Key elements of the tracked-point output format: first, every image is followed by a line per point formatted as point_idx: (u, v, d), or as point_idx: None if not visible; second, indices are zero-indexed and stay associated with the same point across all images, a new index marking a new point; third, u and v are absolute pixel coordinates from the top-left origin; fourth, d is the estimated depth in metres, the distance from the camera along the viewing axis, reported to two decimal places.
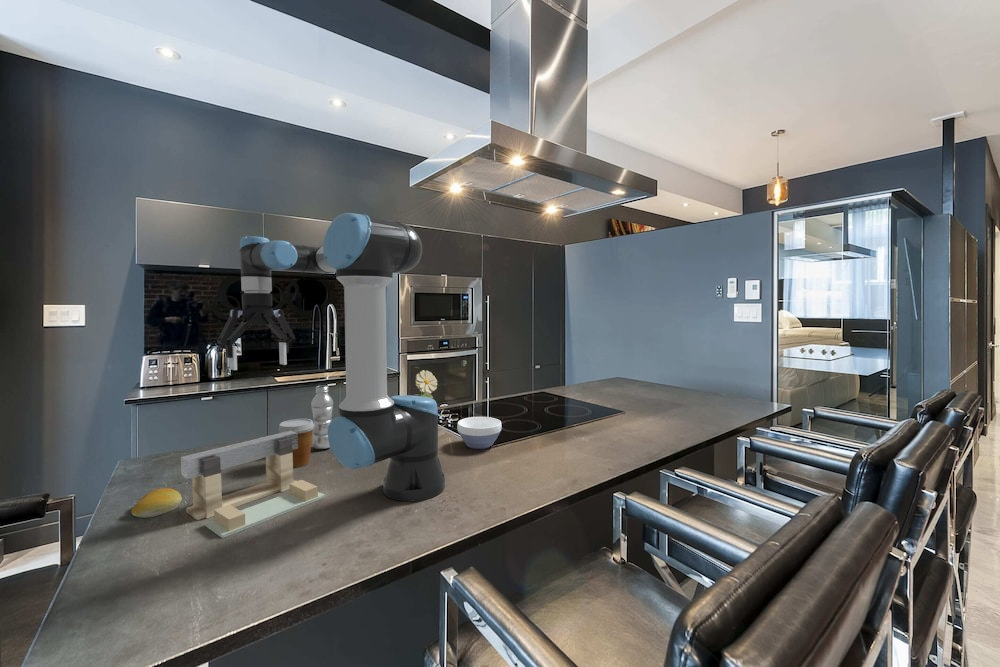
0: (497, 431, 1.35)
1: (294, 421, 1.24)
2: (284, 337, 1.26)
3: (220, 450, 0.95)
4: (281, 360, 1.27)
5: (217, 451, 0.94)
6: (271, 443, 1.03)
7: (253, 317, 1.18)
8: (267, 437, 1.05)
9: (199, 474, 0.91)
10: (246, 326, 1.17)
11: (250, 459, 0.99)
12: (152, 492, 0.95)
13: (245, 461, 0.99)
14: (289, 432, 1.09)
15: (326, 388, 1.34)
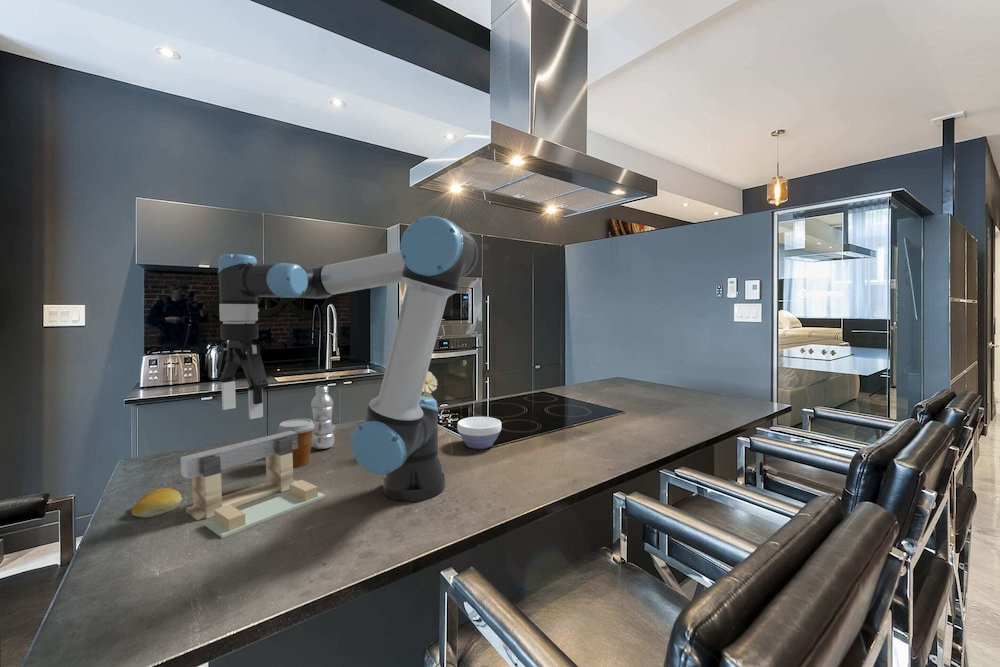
0: (497, 431, 1.35)
1: (294, 421, 1.24)
2: (249, 382, 0.94)
3: (220, 450, 0.95)
4: None
5: (217, 451, 0.94)
6: (271, 443, 1.03)
7: (227, 352, 0.98)
8: (267, 437, 1.05)
9: (199, 474, 0.91)
10: None
11: (250, 459, 0.99)
12: (152, 492, 0.96)
13: (245, 461, 0.99)
14: (289, 432, 1.09)
15: (326, 388, 1.34)
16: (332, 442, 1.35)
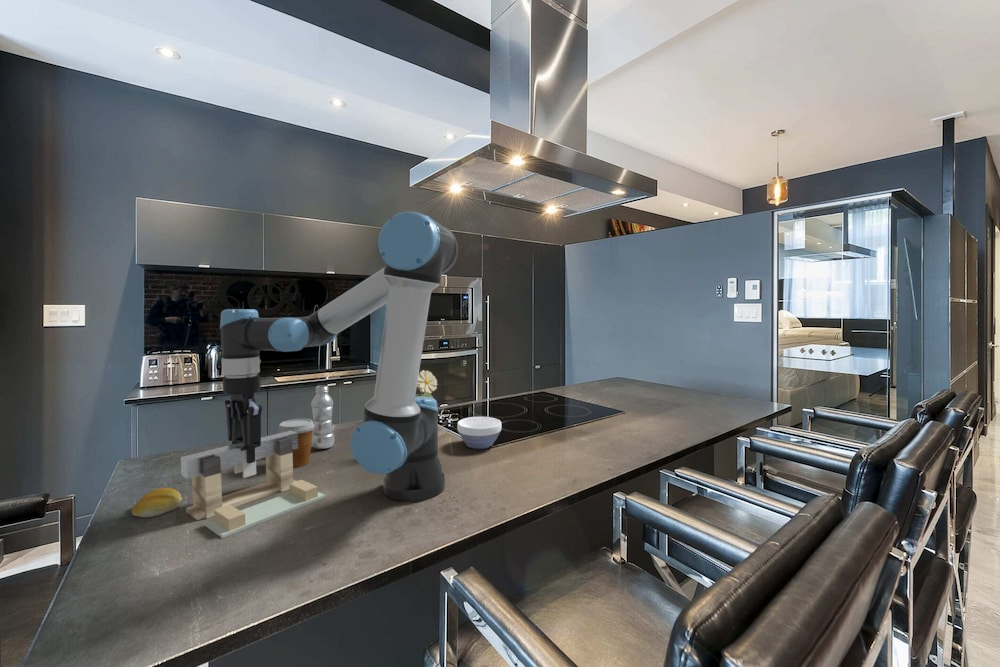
0: (497, 431, 1.35)
1: (294, 421, 1.24)
2: (244, 442, 0.97)
3: (220, 450, 0.95)
4: None
5: (217, 451, 0.94)
6: (271, 443, 1.03)
7: (231, 406, 0.99)
8: (267, 437, 1.05)
9: (199, 474, 0.91)
10: (233, 418, 0.99)
11: None
12: (152, 492, 0.96)
13: None
14: (289, 432, 1.09)
15: (326, 388, 1.34)
16: (332, 442, 1.35)
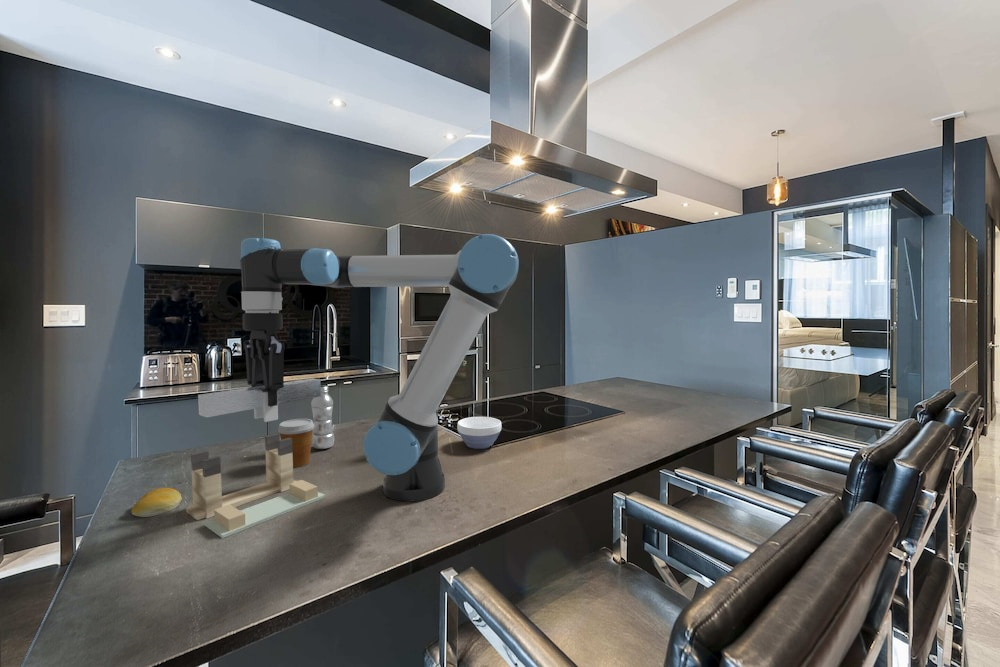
0: (497, 431, 1.35)
1: (294, 421, 1.24)
2: (265, 382, 0.90)
3: (240, 390, 0.88)
4: None
5: (236, 391, 0.87)
6: (293, 388, 0.96)
7: (251, 345, 0.91)
8: (288, 382, 0.97)
9: (218, 413, 0.84)
10: (253, 359, 0.92)
11: None
12: (152, 491, 0.96)
13: None
14: (311, 379, 1.02)
15: (326, 388, 1.34)
16: (332, 442, 1.35)
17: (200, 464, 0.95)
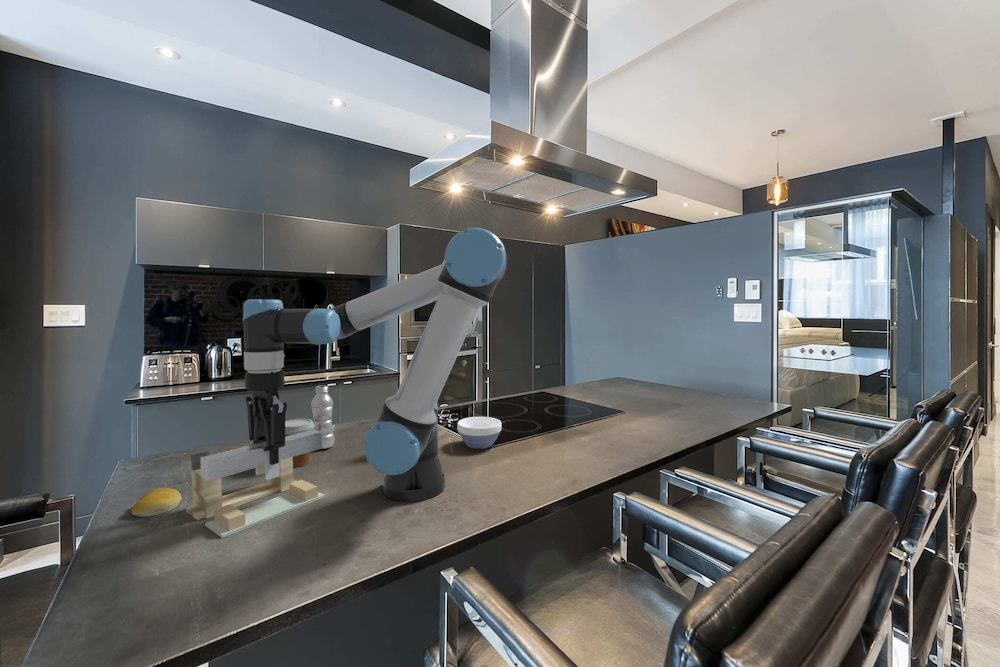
0: (497, 431, 1.35)
1: (294, 421, 1.24)
2: (267, 441, 0.91)
3: (242, 450, 0.89)
4: None
5: (238, 452, 0.88)
6: (294, 443, 0.97)
7: (253, 403, 0.92)
8: (290, 436, 0.98)
9: (220, 476, 0.85)
10: (255, 416, 0.93)
11: None
12: (152, 491, 0.96)
13: None
14: (312, 431, 1.03)
15: (326, 388, 1.34)
16: (332, 442, 1.35)
17: (200, 464, 0.95)
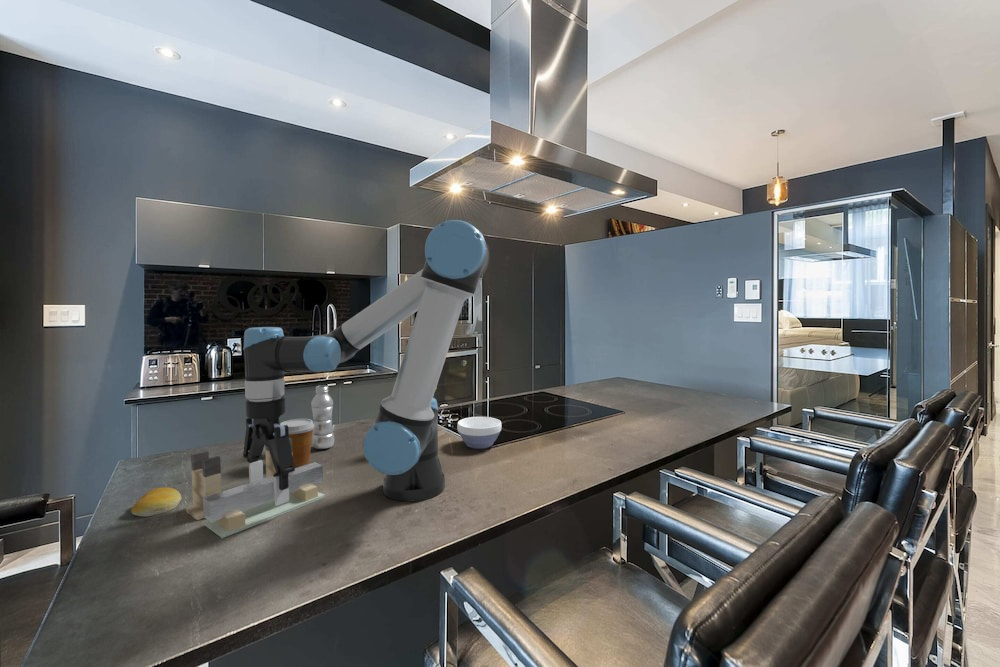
0: (497, 431, 1.35)
1: (294, 421, 1.24)
2: (275, 467, 0.89)
3: (244, 488, 0.89)
4: None
5: (240, 490, 0.88)
6: (296, 478, 0.97)
7: (253, 430, 0.93)
8: None
9: (223, 516, 0.85)
10: (254, 440, 0.94)
11: None
12: (152, 491, 0.96)
13: (270, 499, 0.93)
14: (313, 464, 1.03)
15: (326, 388, 1.34)
16: (332, 442, 1.35)
17: (200, 464, 0.95)
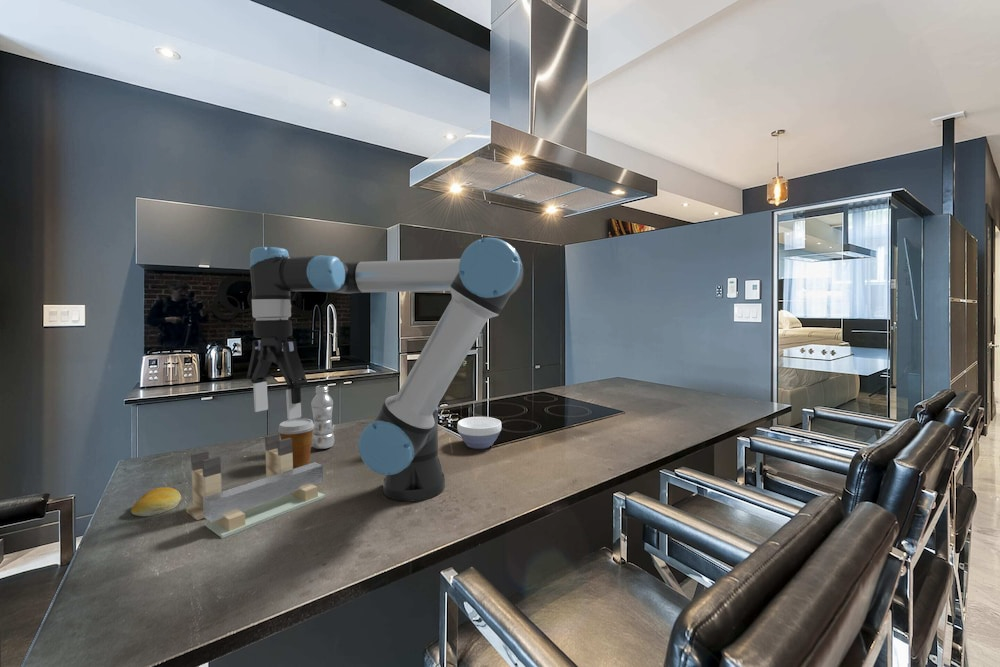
0: (497, 431, 1.35)
1: (294, 421, 1.24)
2: (287, 381, 0.89)
3: (244, 488, 0.89)
4: None
5: (240, 490, 0.88)
6: (296, 478, 0.97)
7: (260, 351, 0.93)
8: (291, 471, 0.99)
9: (223, 516, 0.85)
10: (260, 361, 0.95)
11: (275, 496, 0.93)
12: (152, 491, 0.96)
13: (270, 499, 0.93)
14: (313, 464, 1.03)
15: (326, 388, 1.34)
16: (332, 442, 1.35)
17: (200, 464, 0.95)
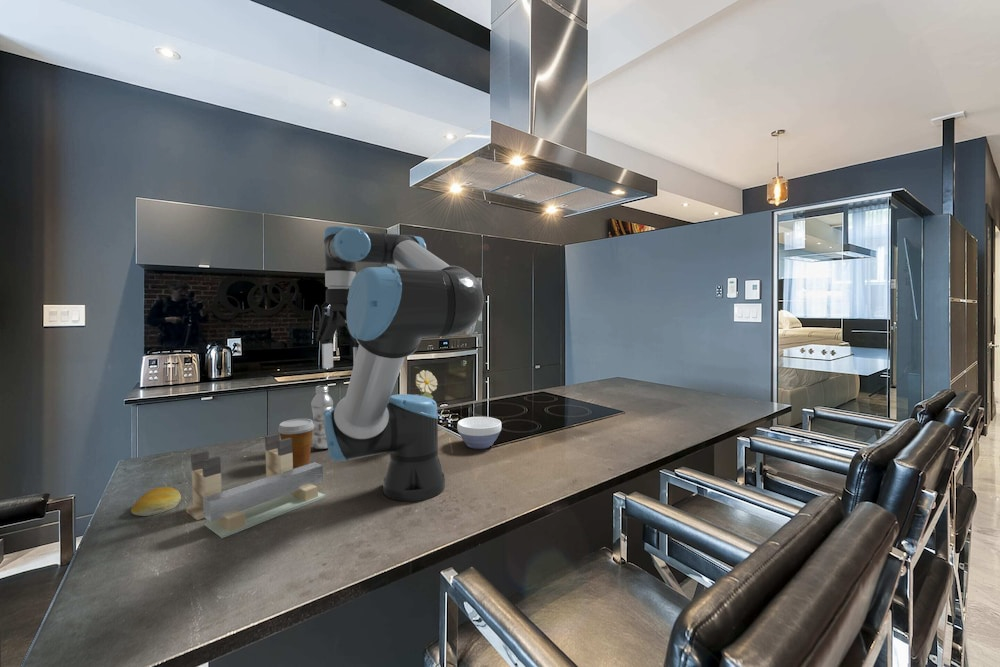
0: (497, 431, 1.35)
1: (294, 421, 1.24)
2: (354, 340, 1.06)
3: (244, 488, 0.89)
4: None
5: (240, 490, 0.88)
6: (296, 478, 0.97)
7: (330, 315, 1.10)
8: (291, 471, 0.99)
9: (223, 516, 0.85)
10: (329, 324, 1.11)
11: (275, 496, 0.93)
12: (152, 491, 0.96)
13: (270, 499, 0.93)
14: (313, 464, 1.03)
15: (326, 388, 1.34)
16: None
17: (200, 464, 0.95)
